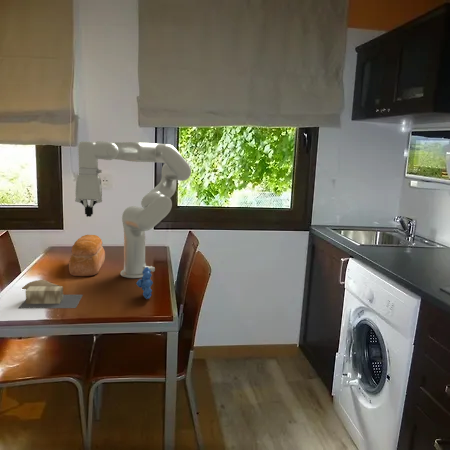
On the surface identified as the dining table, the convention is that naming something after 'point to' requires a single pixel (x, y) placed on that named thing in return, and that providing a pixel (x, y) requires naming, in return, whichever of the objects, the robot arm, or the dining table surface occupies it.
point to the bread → (86, 256)
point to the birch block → (44, 295)
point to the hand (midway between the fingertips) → (89, 216)
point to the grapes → (146, 283)
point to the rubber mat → (67, 302)
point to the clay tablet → (39, 284)
